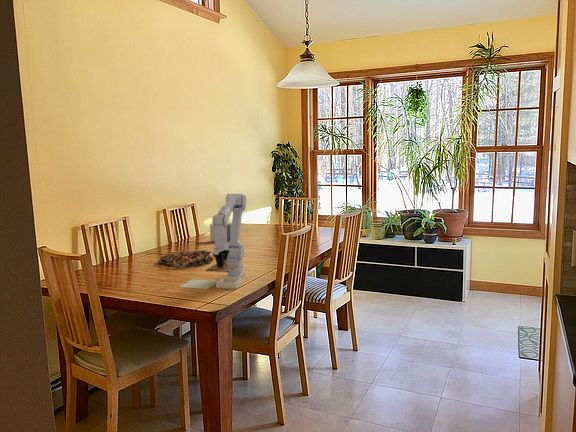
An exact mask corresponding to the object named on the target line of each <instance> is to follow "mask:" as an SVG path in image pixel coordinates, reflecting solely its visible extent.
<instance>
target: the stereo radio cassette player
mask: <svg viewBox="0 0 576 432" xmlns="http://www.w3.org/2000/svg"><path fill="white" fill-rule="evenodd" d="M231 216H233V213H231V215H230V216H229V217H231ZM231 227H232V221H230V222H229V221H228V225H227V226H226V228H227V242H229V241H230V237H231ZM209 236H210V241H211V242H212V243H215V230H214V227H213V223H210V224H209Z"/></svg>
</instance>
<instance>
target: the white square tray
mask: <svg viewBox="0 0 576 432" xmlns="http://www.w3.org/2000/svg"><path fill="white" fill-rule="evenodd" d="M216 281H217V282H216V284H215V288H216V289H222V290H225V289H226V290H237V289H238V288H239V287H240V286H242V285H243V277H240V278H233V277H225V276H223V277H221V278H220V279H219V280H216Z"/></svg>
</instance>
